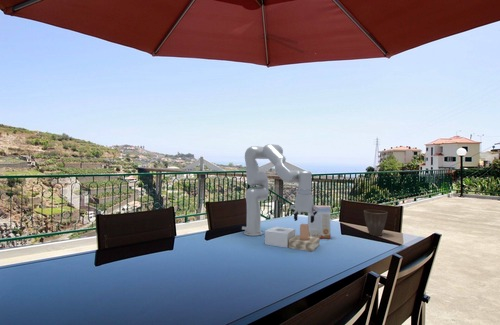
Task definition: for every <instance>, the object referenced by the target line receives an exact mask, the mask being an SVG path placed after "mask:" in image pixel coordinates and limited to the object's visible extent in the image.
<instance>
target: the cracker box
mask: <svg viewBox="0 0 500 325" xmlns="http://www.w3.org/2000/svg"><path fill="white" fill-rule="evenodd" d="M313 205H314V206H316V207H317V208H319V211H318V212H317V214H315V215H314V221H313V223H311V216H312V215H311V214H310V213H307V224H309V236H310V237H318V238H320V239H324V240H325V239H327V240H328V239H329V240H330V239H331V206H330V205H315V204H313ZM315 211H316V209H314V208H313V212H315Z"/></svg>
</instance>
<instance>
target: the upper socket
mask: <svg viewBox="0 0 500 325" xmlns="http://www.w3.org/2000/svg"><path fill="white" fill-rule="evenodd" d="M294 236H296V229H295V228H289V227H279V226H273V227H271V228H268V229H266V230H264V244H265V245H267V246H272V247H273V246H274V247H281V248H285V249H286V248H288V249H289V240H290V239H291V238H293V237H294Z"/></svg>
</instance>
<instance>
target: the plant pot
mask: <svg viewBox="0 0 500 325" xmlns="http://www.w3.org/2000/svg"><path fill="white" fill-rule="evenodd" d="M363 216H364V221H365V226H366V229H367V232H368V234H369V235H370V236H375V237H380V236H382V234H383V231H384V230H385V226H386V223H387V219H388V211H385V210H379V209H378V210H377V209H364V210H363Z"/></svg>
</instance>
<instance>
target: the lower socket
mask: <svg viewBox="0 0 500 325" xmlns="http://www.w3.org/2000/svg"><path fill="white" fill-rule="evenodd" d="M320 239H321V238H318V237H310V236H309V240H308V241H307V240H300V234H295V236H294V237H293V238H291V239H290V240H289V247H288V249H292V250H293V249H295V250H301V251H307V252H314V251H315V250H316V249H317V248H318V247H319V246H320V245H321V244H320Z"/></svg>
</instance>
